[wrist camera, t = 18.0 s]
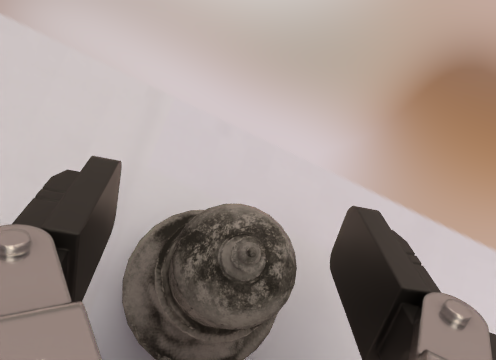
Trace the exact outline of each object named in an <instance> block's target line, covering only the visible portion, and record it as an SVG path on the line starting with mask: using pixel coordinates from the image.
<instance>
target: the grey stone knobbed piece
mask: <svg viewBox="0 0 496 360" xmlns="http://www.w3.org/2000/svg"><path fill="white" fill-rule="evenodd" d="M296 270H297V267H296V258H295V252H294V249H293V247H292V244H291V241H290V239H289V237H288V235H287V234H286V233H285V231H284V230H283V228H282V227H281V225H280V224H279V223H277V222H276V221H275V220H274V219H273V218H272V217H271V216H270V215H268V214H266V213H265V212H263V211H261V210H259V209H257V208H255V207H251V206H247V205H243V204H223V205H219V206H216V207H212V208H208V209H206V210H191V211H187V212H184V213H180V214H177V215H173V216H171V217H169V218H168V219H166V220H164V221H162V222H161V223H159V224H157V225H156V226H154V227H153V228H152V229H151V230H150V231H149V232H148V233H147V234H146V235H145V236H144V237H143V238H142V239H141V240H140V241H139V243H138V245H137V246H136V248H135V250H134V251H133V253H132V255H131V256H130V258H129V260H128V264H127V267H126V271H125V274H124V278H123V293H122V303H123V307H124V311H125V315H126V319H127V323H128V325H129V327H130V329H131V331H132V332H133V334H134V336H135V337H136V339H137V341H138V343H139V344H140V345H141V346H142V347H143V348H144V349H145V350H146V351H147V352H148V353H149V354H150V355H152V356H153V357H154V358H155V359H156V360H243V359H245V358H246V357H247V356H249V355H250V354H251V353H252V352H254V351H255V350H256V349H257V348H258V347H259V345H260V344H261V343H262V341H263V340H264V339H265V338H266V336H267V335H268V334H269V332H270V330H271V328H272V325H273V323H274V320H275V318H276V316H277V313H278V312H279V310H280V309H281V308H282V307H283V305H284V304H285V303H286V301H287V300H288V298H289V296H290V294H291V291H292V289H293V286H294V284H295V277H296Z"/></svg>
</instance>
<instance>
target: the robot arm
mask: <svg viewBox="0 0 496 360" xmlns="http://www.w3.org/2000/svg"><path fill="white" fill-rule="evenodd" d="M120 176H121V161H117V160H112V159H107V158H102V157H96V156H91V158H90V159H89V160H88V162H87V163H86V165H85V166H84V167H83V169H82V170H81V172H77V171H72V170H66V171H63V172H61V173H59V174H57V175H55V176H53V177H51V178H50V179H49V181H48V182H47V183H46V184H45V185H44V187H43V189H41V190H40V191H39V192H38V194H37V195H36V197H35V198H33V200H32V201H31V202H30V203H29V204H28V206H27V207H26V208H25V209H24V210H23V212H22V213H21V214H20V215H19V216H18V217H17V219H16V220H15V221H14V222H13V223H12V225H3V226H0V360H102V358H101V355H100V352H99V349H98V346H97V343H96V340H95V337H94V334H93V331H92V328H91V325H90V322H89V319H88V316H87V313H86V310H85V307H84V305H83V303H82V300H83V298H84V296H85V293H86V291H87V289H88V286H89V284H90V282H91V279H92V277H93V275H94V272H95V270H96V268H97V265H98V263H99V261H100V258H101V256H102V254H103V251H104V249H105V247H106V244H107V242H108V240H109V237H110V235H111V232H112V229H113V225H114V221H115V216H116V209H117V201H118V193H119V184H120ZM414 254H415V253H414V252H413V250H412V249H411V247H410V246H409V244H408V243H407V242H406V241H405V240H404V239H403V238H402V237H400V236H399V235H398V234H397V233H396V232H395V231H393V230H391V229H390V227H389V226H388V224H387V222H386V221H385V219H384V218H383V216H382V215H381V213H380V212H379V211H377V210H372V209H367V208H362V207H356V206H352V207H350V208H349V210H348V211H347V213H346V216H345V218H344V221H343V224H342V226H341V229H340V231H339V234H338V236H337V239H336V242H335V244H334V247H333V249H332V253H331V257H330V270H331V274H332V276H333V279H334V282H335V285H336V288H337V290H338V293H339V296H340V299H341V302H342V304H343V307H344V310H345V313H346V316H347V318H348V321H349V324H350V327H351V330H352V332H353V335H354V338H355V341H356V344H357V346H358V349H359V352H360V355H361V357H362V360H496V335H495V334H492V333H489V329H488V325H487V323H486V321H485V320H484V319H483V317H482V316H481V315H480V314H479V313H478V312H477V311H476V310H475V309H474V308H472V307H471V306H470V305H468V304H467V303H465V302H463V301H462V300H460V299H458V298H456V297H453V296H451V295H448V294H444V293H441V292H440V290H439V289H438V287H437V286H436V284H435V283H434V281H433V280H432V278H431V277H430V275H429V274H428V272H427V271H426V269H425V268H424V267H423V266H421V262H420V261H419V259H418V258H417V256H414Z"/></svg>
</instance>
